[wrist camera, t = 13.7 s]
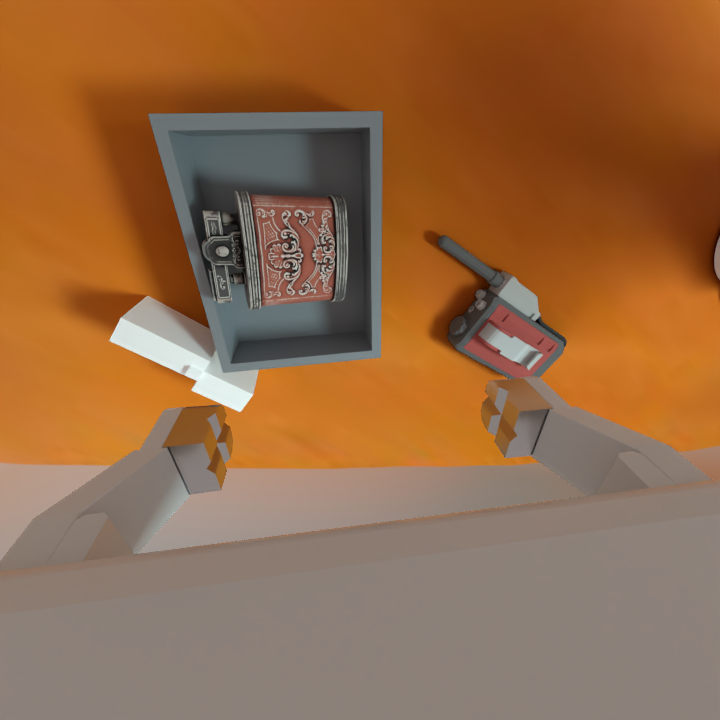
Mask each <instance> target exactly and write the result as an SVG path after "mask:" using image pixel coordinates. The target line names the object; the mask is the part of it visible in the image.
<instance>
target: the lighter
mask: <svg viewBox="0 0 720 720" xmlns="http://www.w3.org/2000/svg"><path fill="white" fill-rule="evenodd" d="M234 206H235V214H230V213H227V212H219V211H209V210H203V217H204V223H205V230H206V236H207V238H206V239H205V240H204V241H203V242H202V250H203V254H204V256H205V258H206V259H207V260H209V261H211V266H212V269H209V275H210V281H211V287H212V293H213V299H214V301H217V302H218V303H227V302H232V296H231V289H230V283H234V285H235V284H244V288H245V295H246V300H247V304H248V307H249V309H250V310H253V309H260V308H261V306H270V305H281V304H291V303H302V302H313V301H323V300H329V301H331V302H335V301H342V300H343V299H344V297H345V291H346V281H347V265H348V227H347V209H346V203H345V200H344V198H343V197H342V196H340V195H328V196H327V197H304V196H279V195H254V194H248V192H247V191H234ZM231 225H236V226H237V230H230V231H229V232H228V234H223V233H222V227H228V226H231ZM227 265H234V266H235V267H236V268H242V273H232V275H228V268H227Z"/></svg>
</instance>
